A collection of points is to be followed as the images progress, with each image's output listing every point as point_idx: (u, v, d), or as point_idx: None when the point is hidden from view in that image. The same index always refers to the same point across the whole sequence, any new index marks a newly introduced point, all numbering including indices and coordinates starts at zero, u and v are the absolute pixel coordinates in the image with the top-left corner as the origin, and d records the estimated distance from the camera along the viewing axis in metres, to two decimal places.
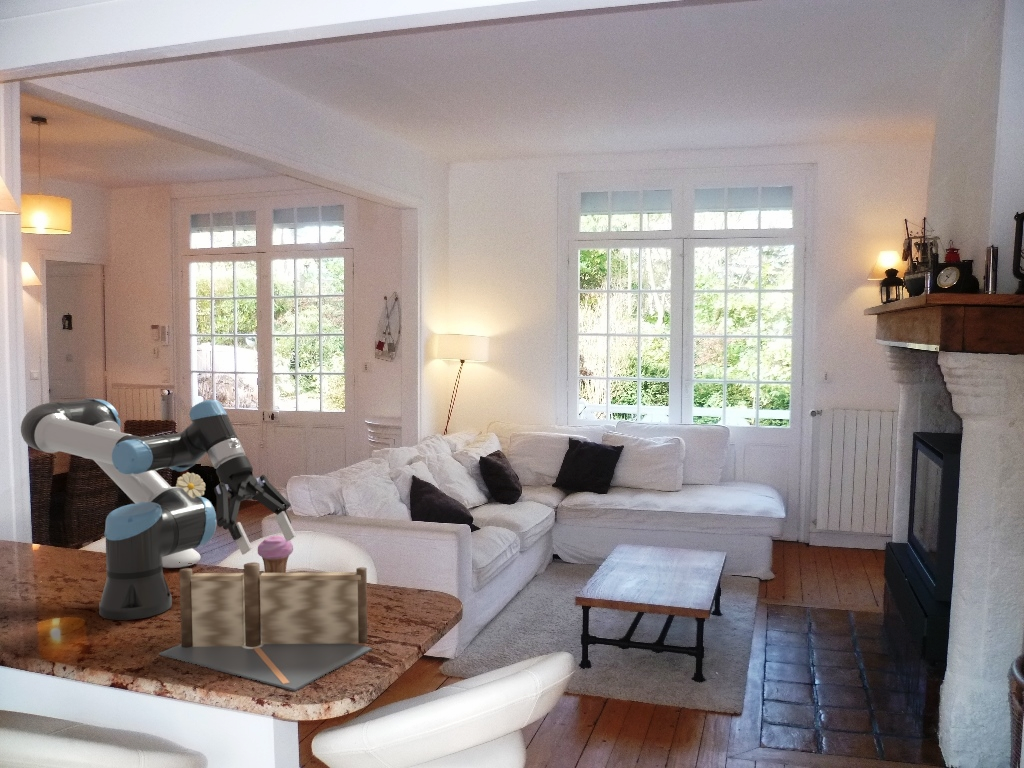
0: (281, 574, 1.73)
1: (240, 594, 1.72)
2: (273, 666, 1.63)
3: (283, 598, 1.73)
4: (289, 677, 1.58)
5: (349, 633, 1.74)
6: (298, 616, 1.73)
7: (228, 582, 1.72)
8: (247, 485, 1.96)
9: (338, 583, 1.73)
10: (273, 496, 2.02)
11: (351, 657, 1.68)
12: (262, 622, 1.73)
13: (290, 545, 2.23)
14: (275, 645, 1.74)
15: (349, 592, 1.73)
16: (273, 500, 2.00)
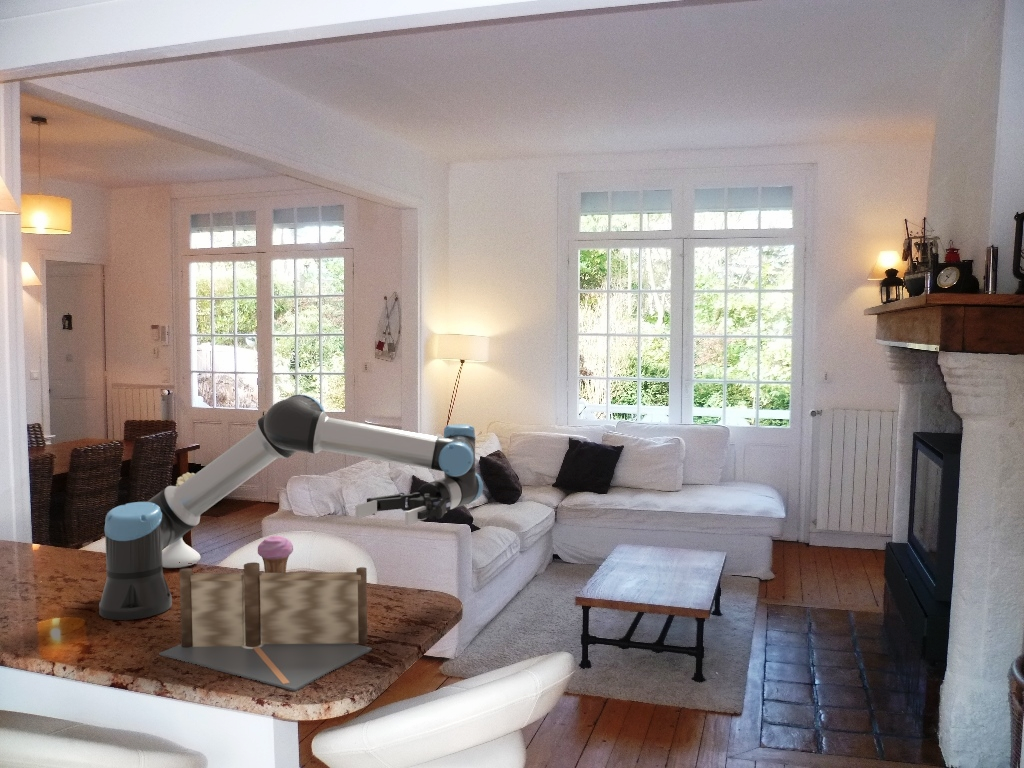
0: (281, 574, 1.73)
1: (240, 594, 1.72)
2: (273, 666, 1.63)
3: (283, 598, 1.73)
4: (289, 677, 1.58)
5: (349, 633, 1.74)
6: (298, 616, 1.73)
7: (228, 582, 1.72)
8: None
9: (338, 583, 1.73)
10: None
11: (351, 657, 1.68)
12: (262, 622, 1.73)
13: (290, 545, 2.23)
14: (275, 645, 1.74)
15: (349, 592, 1.73)
16: None
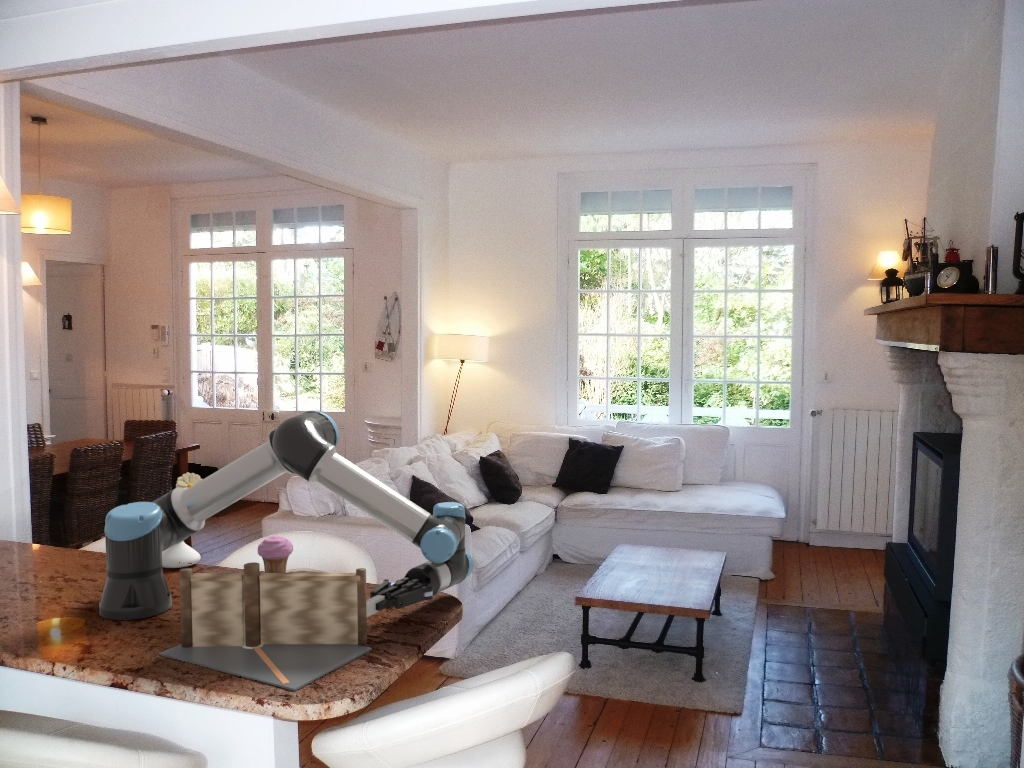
0: (281, 574, 1.73)
1: (240, 594, 1.72)
2: (273, 666, 1.63)
3: (283, 598, 1.73)
4: (289, 677, 1.58)
5: (348, 634, 1.73)
6: (298, 616, 1.73)
7: (228, 582, 1.72)
8: None
9: (338, 583, 1.72)
10: None
11: (351, 657, 1.68)
12: (262, 622, 1.73)
13: (290, 545, 2.23)
14: (275, 645, 1.74)
15: (348, 593, 1.73)
16: None
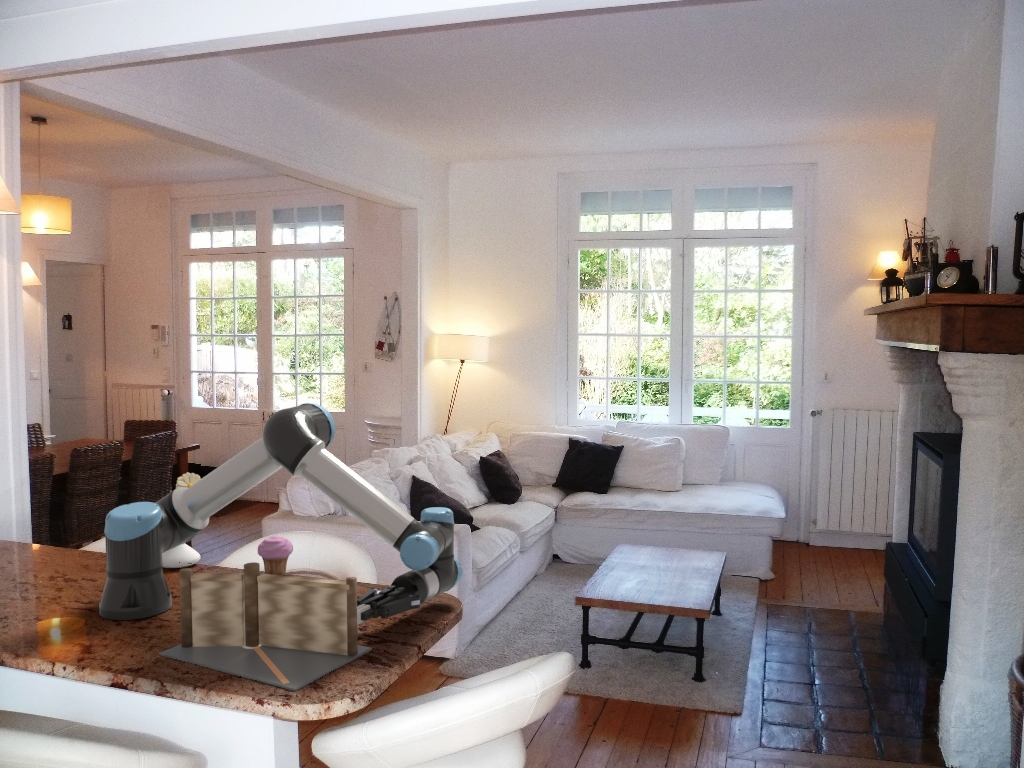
0: (277, 577, 1.71)
1: (240, 594, 1.72)
2: (273, 666, 1.63)
3: (278, 601, 1.71)
4: (289, 677, 1.58)
5: (339, 644, 1.68)
6: (292, 621, 1.70)
7: (228, 582, 1.72)
8: None
9: (329, 591, 1.68)
10: None
11: (351, 657, 1.68)
12: (260, 623, 1.72)
13: (290, 545, 2.23)
14: None
15: (339, 601, 1.67)
16: None
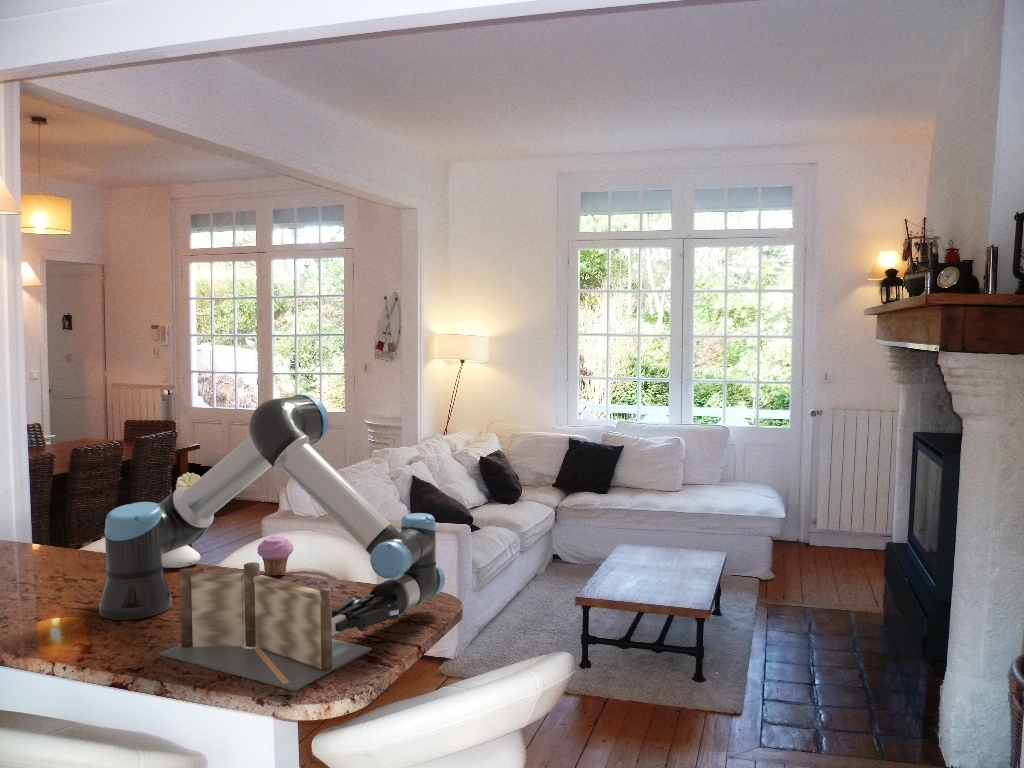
0: (269, 579, 1.69)
1: (240, 594, 1.72)
2: (273, 666, 1.63)
3: (269, 604, 1.69)
4: (289, 677, 1.58)
5: (314, 656, 1.62)
6: (279, 626, 1.67)
7: (228, 582, 1.72)
8: None
9: (306, 600, 1.62)
10: None
11: (351, 657, 1.68)
12: (256, 624, 1.72)
13: (290, 545, 2.23)
14: None
15: (314, 612, 1.61)
16: None
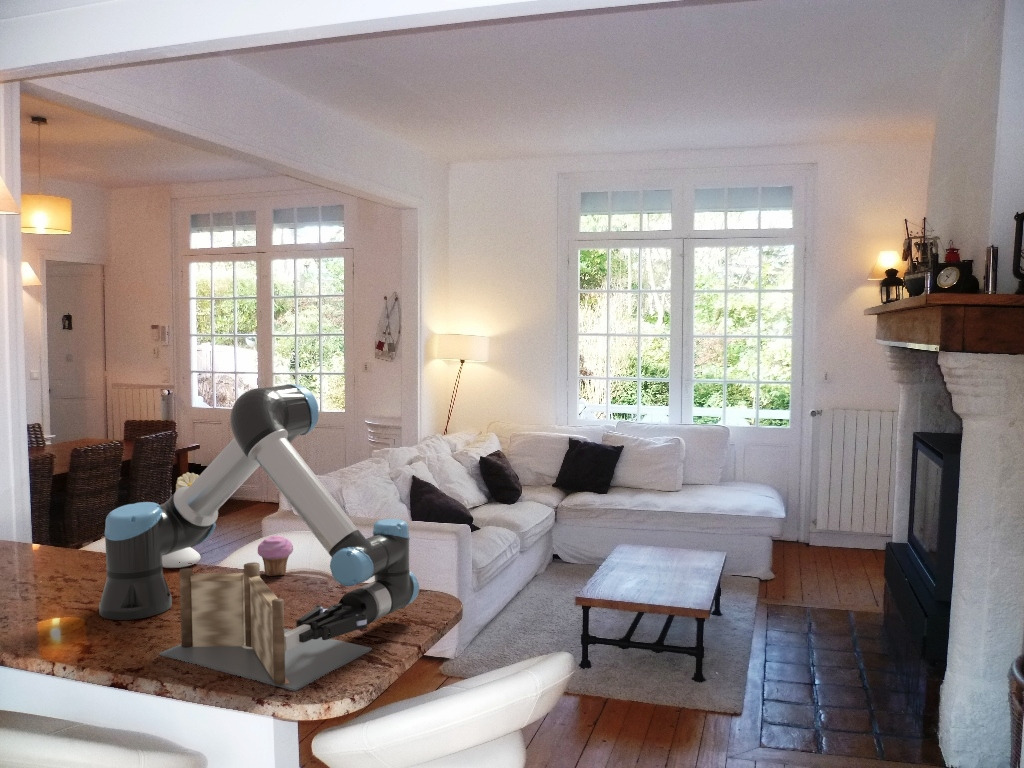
0: (257, 582, 1.68)
1: (240, 594, 1.72)
2: None
3: (255, 607, 1.67)
4: (289, 677, 1.58)
5: (271, 667, 1.56)
6: (259, 630, 1.65)
7: (228, 582, 1.72)
8: None
9: (268, 608, 1.58)
10: None
11: (351, 657, 1.68)
12: (251, 625, 1.71)
13: (290, 545, 2.23)
14: None
15: (271, 622, 1.56)
16: None
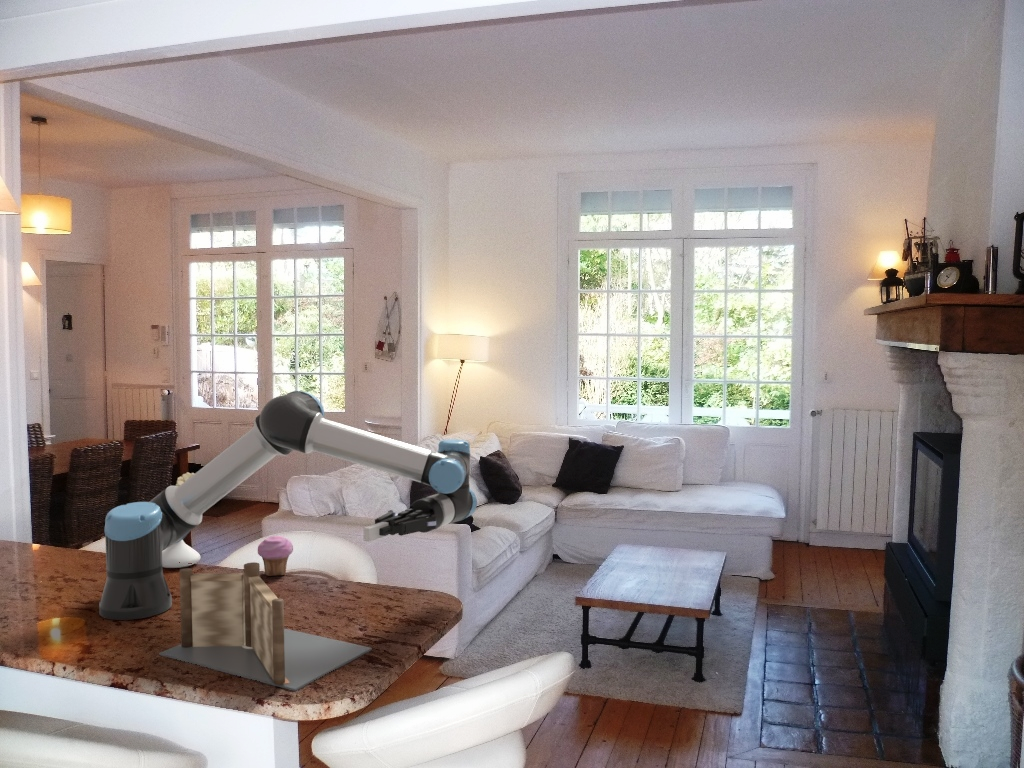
0: (257, 582, 1.68)
1: (240, 594, 1.72)
2: None
3: (255, 607, 1.67)
4: (289, 677, 1.58)
5: (271, 667, 1.56)
6: (259, 630, 1.65)
7: (228, 582, 1.72)
8: None
9: (268, 608, 1.58)
10: None
11: (351, 657, 1.68)
12: (251, 625, 1.71)
13: (290, 545, 2.23)
14: None
15: (271, 622, 1.56)
16: None
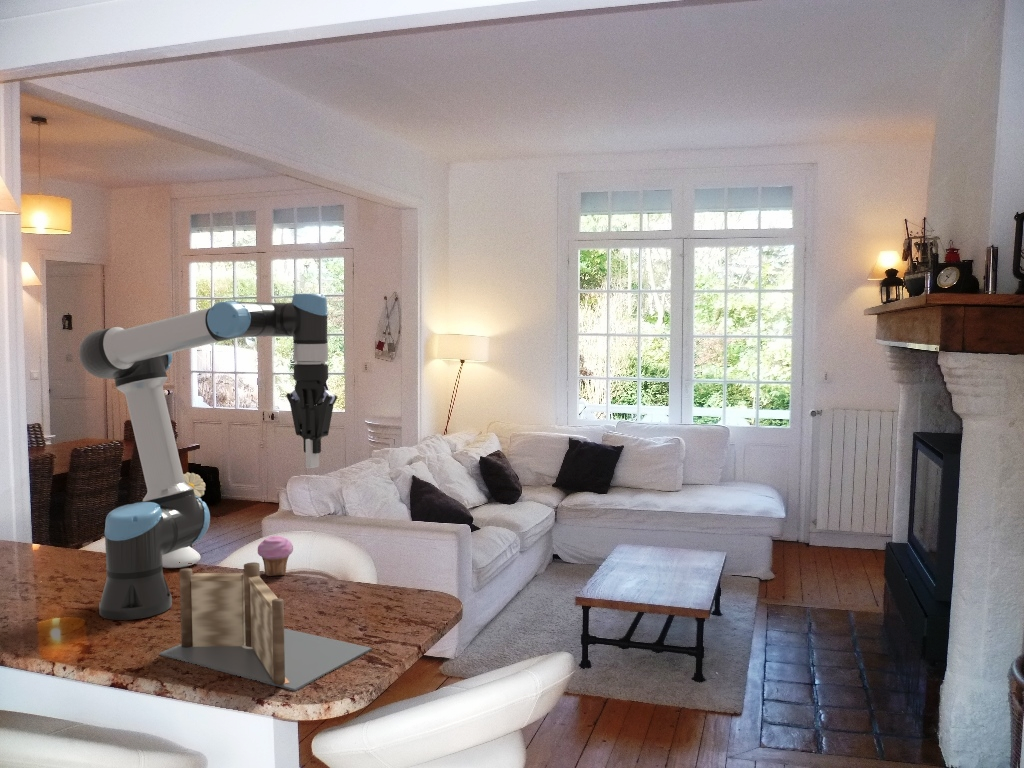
0: (257, 582, 1.68)
1: (240, 594, 1.72)
2: None
3: (255, 607, 1.67)
4: (289, 677, 1.58)
5: (271, 667, 1.56)
6: (259, 630, 1.65)
7: (228, 582, 1.72)
8: None
9: (268, 608, 1.58)
10: (300, 415, 1.96)
11: (351, 657, 1.68)
12: (251, 625, 1.71)
13: (290, 545, 2.23)
14: None
15: (271, 622, 1.56)
16: None
